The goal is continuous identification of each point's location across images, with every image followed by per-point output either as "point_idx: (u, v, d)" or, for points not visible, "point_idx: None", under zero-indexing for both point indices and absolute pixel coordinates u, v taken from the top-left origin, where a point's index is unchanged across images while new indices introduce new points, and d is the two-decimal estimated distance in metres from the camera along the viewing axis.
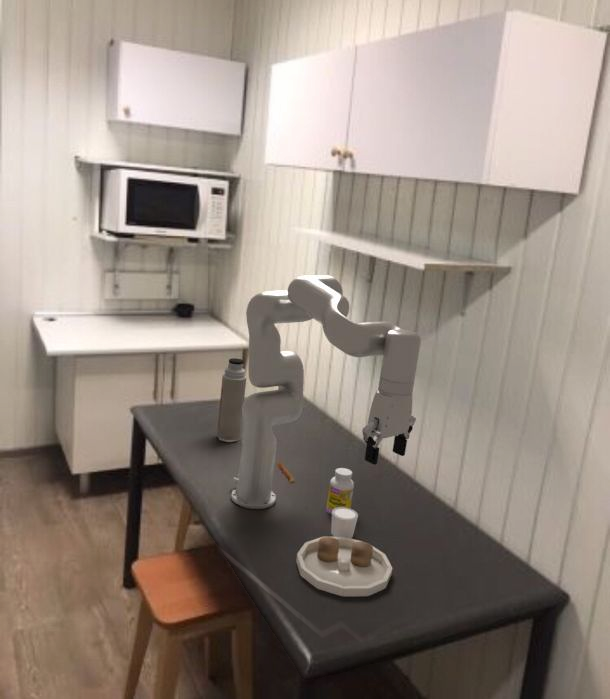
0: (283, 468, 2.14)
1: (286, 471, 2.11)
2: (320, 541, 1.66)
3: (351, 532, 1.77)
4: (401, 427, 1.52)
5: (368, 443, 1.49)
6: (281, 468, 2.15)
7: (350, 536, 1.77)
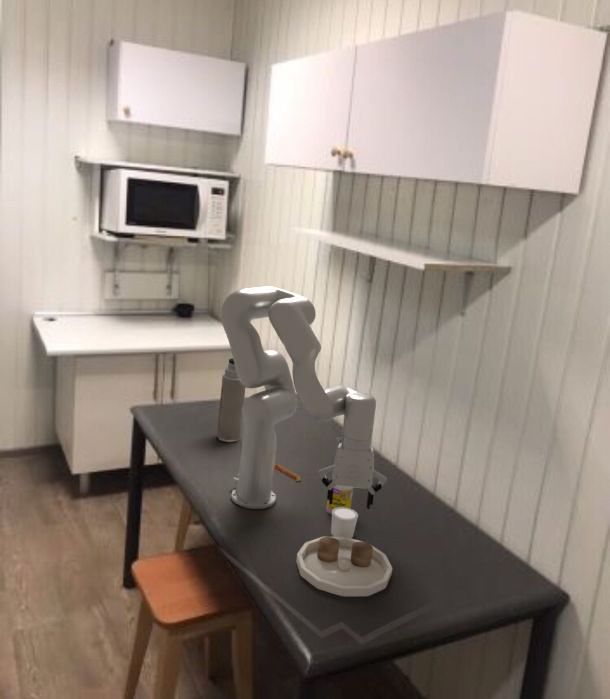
0: (282, 468, 2.13)
1: (288, 471, 2.12)
2: (320, 541, 1.66)
3: (351, 532, 1.77)
4: None
5: None
6: (279, 469, 2.14)
7: (350, 536, 1.77)
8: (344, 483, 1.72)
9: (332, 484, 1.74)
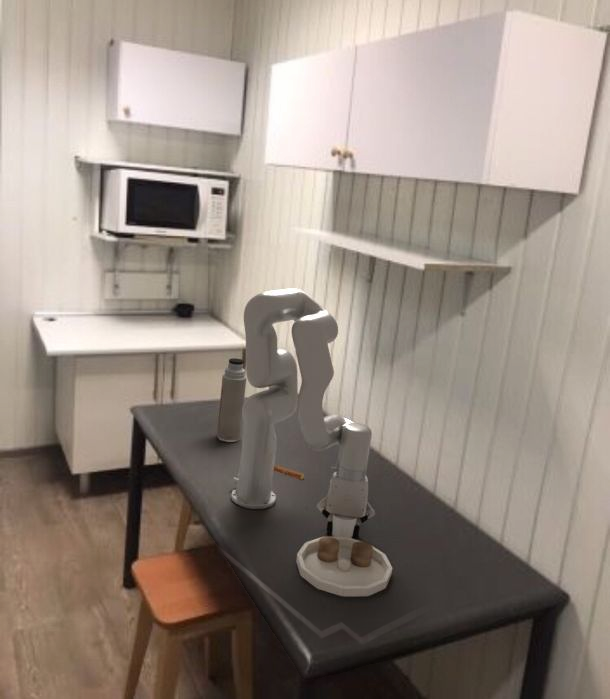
0: (281, 469, 2.13)
1: (289, 471, 2.12)
2: (320, 541, 1.66)
3: (351, 532, 1.77)
4: None
5: None
6: (278, 470, 2.13)
7: (350, 536, 1.77)
8: (338, 511, 1.75)
9: (331, 515, 1.77)
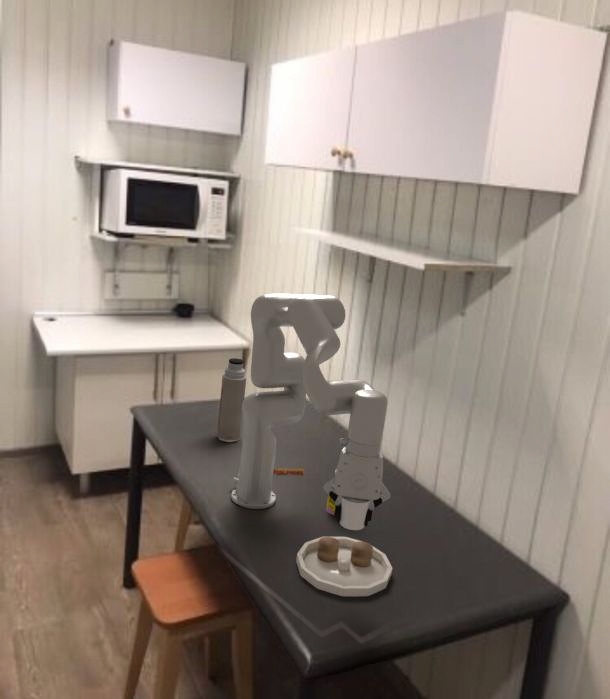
0: (282, 470, 2.12)
1: (290, 470, 2.13)
2: (320, 541, 1.66)
3: (363, 517, 1.51)
4: None
5: None
6: (279, 472, 2.12)
7: (362, 522, 1.52)
8: (348, 493, 1.49)
9: (339, 498, 1.51)
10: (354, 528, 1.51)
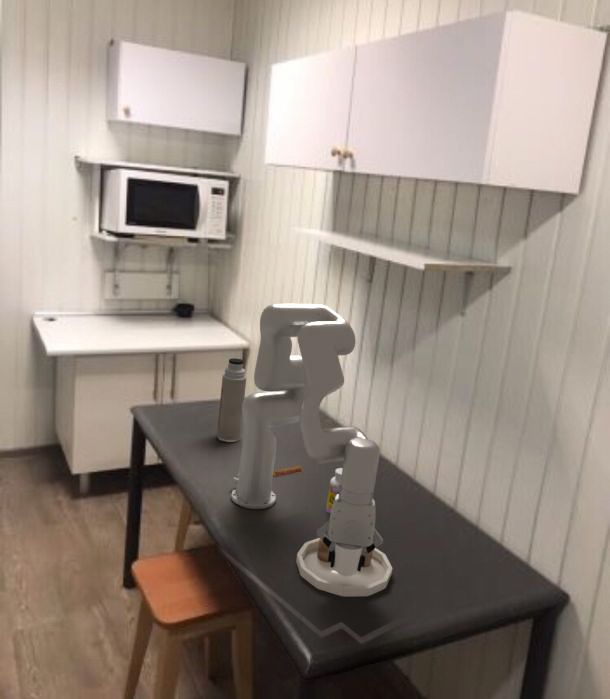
0: (283, 471, 2.12)
1: (289, 469, 2.13)
2: (320, 541, 1.66)
3: (357, 563, 1.54)
4: None
5: None
6: (280, 473, 2.11)
7: (355, 567, 1.54)
8: (341, 540, 1.52)
9: (333, 544, 1.54)
10: (347, 574, 1.54)
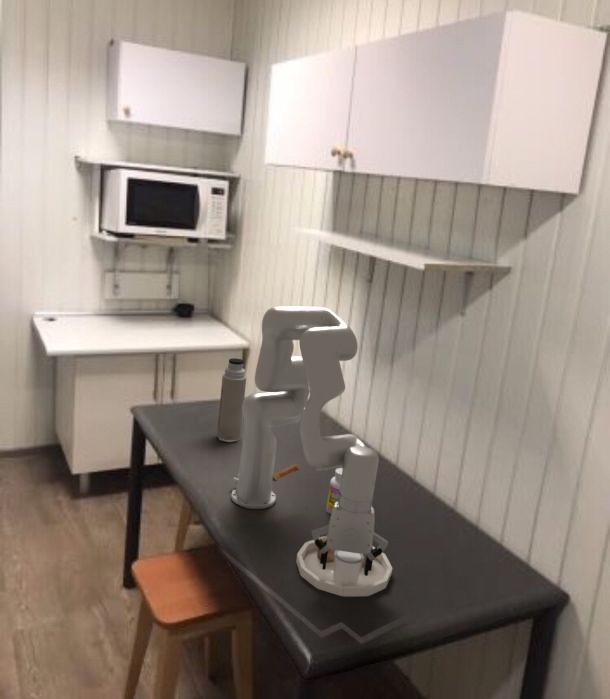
0: (284, 471, 2.12)
1: (288, 468, 2.14)
2: None
3: (356, 577, 1.55)
4: None
5: None
6: (283, 474, 2.11)
7: (355, 581, 1.56)
8: (340, 547, 1.53)
9: (326, 547, 1.54)
10: None
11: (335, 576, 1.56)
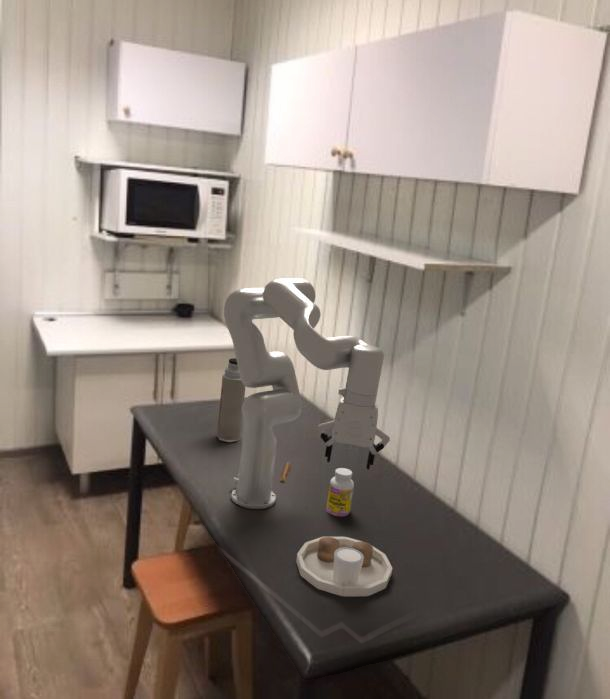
0: (286, 471, 2.12)
1: (287, 468, 2.14)
2: (320, 541, 1.66)
3: (356, 577, 1.55)
4: None
5: None
6: (286, 474, 2.11)
7: (355, 581, 1.56)
8: (344, 440, 1.61)
9: (331, 440, 1.63)
10: None
11: (335, 576, 1.56)
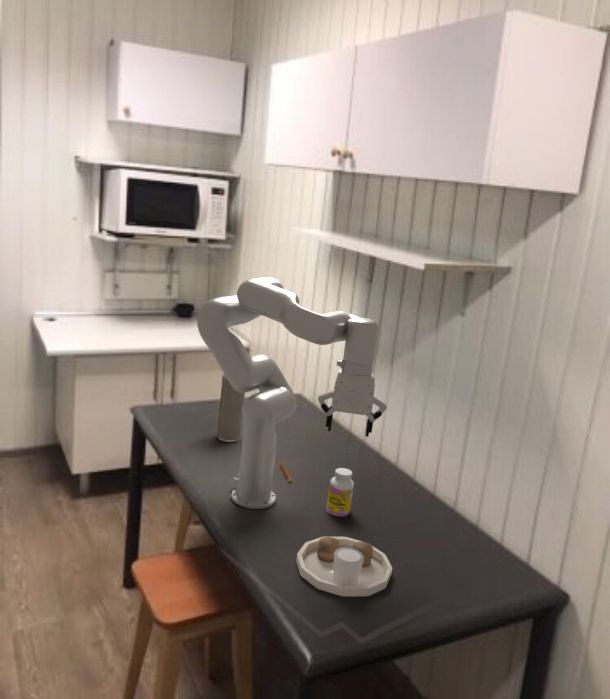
0: (287, 471, 2.12)
1: None
2: (320, 541, 1.66)
3: (356, 577, 1.55)
4: None
5: None
6: None
7: (355, 581, 1.56)
8: (343, 409, 1.70)
9: (331, 410, 1.72)
10: None
11: (335, 576, 1.56)
